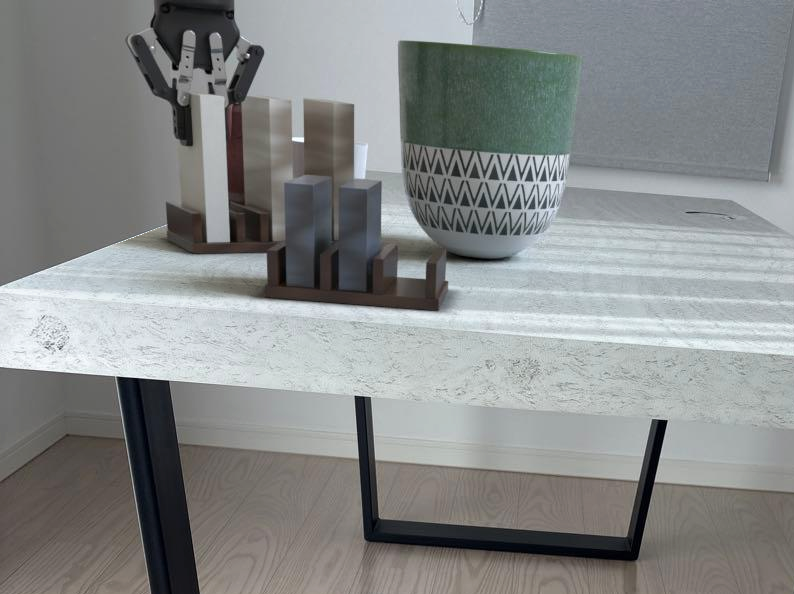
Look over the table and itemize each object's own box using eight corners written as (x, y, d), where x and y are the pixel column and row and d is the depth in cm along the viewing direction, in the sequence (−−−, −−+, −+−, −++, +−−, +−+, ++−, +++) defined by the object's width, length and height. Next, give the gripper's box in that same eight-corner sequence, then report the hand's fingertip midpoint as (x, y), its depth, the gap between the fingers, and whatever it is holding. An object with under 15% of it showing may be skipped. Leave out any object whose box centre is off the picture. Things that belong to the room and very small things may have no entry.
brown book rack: (193, 253, 107) (184, 94, 101) (166, 239, 114) (157, 89, 108) (369, 249, 118) (370, 105, 112) (335, 237, 125) (334, 99, 119)
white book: (207, 242, 108) (199, 94, 103) (182, 230, 114) (174, 90, 108) (230, 242, 109) (224, 96, 104) (204, 230, 115) (197, 91, 110)
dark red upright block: (213, 229, 123) (207, 99, 117) (243, 223, 129) (238, 99, 123) (260, 235, 122) (256, 104, 116) (287, 229, 127) (285, 104, 122)
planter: (566, 277, 111) (585, 54, 103) (381, 262, 111) (385, 37, 102) (564, 249, 129) (580, 57, 120) (405, 236, 129) (410, 43, 120)
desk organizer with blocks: (264, 297, 91) (260, 181, 87) (288, 279, 99) (286, 172, 95) (438, 310, 91) (442, 196, 87) (448, 291, 99) (452, 185, 95)
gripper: (127, -58, 95) (142, 147, 102) (276, -38, 102) (280, 151, 109) (105, -54, 100) (121, 140, 107) (248, -36, 108) (254, 145, 115)
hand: (201, 145), depth 108 cm, fingers closed on white book, 2 cm apart
